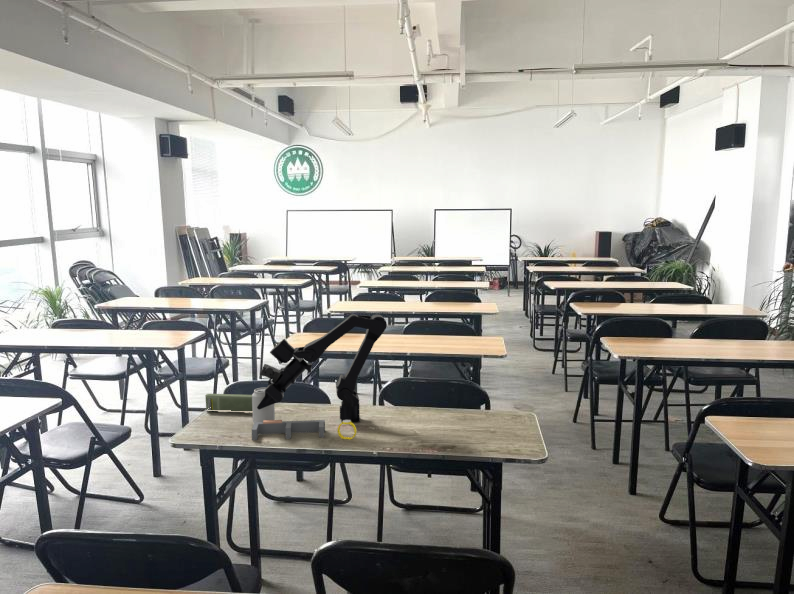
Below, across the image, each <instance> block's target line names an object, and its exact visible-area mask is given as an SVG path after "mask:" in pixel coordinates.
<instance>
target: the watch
mask: <svg viewBox="0 0 794 594" xmlns="http://www.w3.org/2000/svg"><path fill="white" fill-rule="evenodd" d="M342 425H350V426H351V427H352V429H353V435H352V436H351V437H349V436H344V435H343V434H342V432H341V426H342ZM337 435H338V437H340V439H341V440H352V439H354V438H355V437H356V435H357V427H356V425H355V424H354V422H351V420H343V421H342V422H341V423H340V424H339V425H338V426H337Z"/></svg>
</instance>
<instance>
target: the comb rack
mask: <svg viewBox="0 0 794 594" xmlns="http://www.w3.org/2000/svg"><path fill="white" fill-rule="evenodd" d="M297 433H298V434H300V433H301V434H302V433H303V434H304V433H318V437H319V438H325V433H326V419H315V420H313V419H311V420H309V419H306V420H288V421H287V420H285V421H283V419H275V420H264V421H263V422H254V423H253V424H252V428H251V441H258V437H259V435H274V434H278V435H280V434H285V440H289V439H290V440H291V438H292V434H297Z"/></svg>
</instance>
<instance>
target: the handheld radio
mask: <svg viewBox="0 0 794 594" xmlns="http://www.w3.org/2000/svg"><path fill="white" fill-rule="evenodd" d="M204 396H205V410H207V409H208V408H209V409H208V410H231V411H252V394H233V393H231V394H229V393H206V394H205V395H204ZM210 407H211V408H210Z"/></svg>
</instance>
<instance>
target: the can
mask: <svg viewBox="0 0 794 594" xmlns="http://www.w3.org/2000/svg"><path fill="white" fill-rule="evenodd" d="M266 388H267V387H258V388H255V389H254V390H253V393H252V394H251V395H252V411H253V413H252V423H253V424H254V422H263V421H264V420H276V418H275V417H276V415H275V414H276V413H275V412H276V410H275V409H276V408H275V407H276V405H275V404H276V403H275V404H272V405H269V406H267V407H264V408H262V409H260V410H259V409H258V408H257V406H258V405H259V403H260V402H261V401H262V399H263V398H264V396H265V389H266Z"/></svg>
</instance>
